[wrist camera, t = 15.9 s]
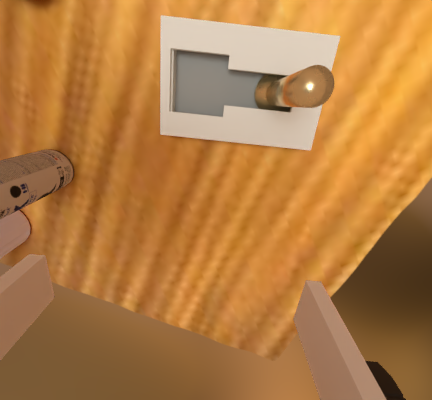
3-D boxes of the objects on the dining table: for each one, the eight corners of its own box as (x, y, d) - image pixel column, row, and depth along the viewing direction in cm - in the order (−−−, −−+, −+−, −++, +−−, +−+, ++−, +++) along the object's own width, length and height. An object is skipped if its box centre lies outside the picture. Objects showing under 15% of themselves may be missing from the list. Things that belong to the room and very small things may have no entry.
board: (167, 25, 31) (160, 15, 28) (327, 43, 32) (340, 36, 28) (165, 131, 37) (160, 134, 33) (302, 146, 37) (310, 150, 34)
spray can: (52, 192, 41) (-85, 263, 23) (26, 157, 39) (-151, 206, 20) (82, 177, 40) (-37, 241, 22) (57, 141, 38) (-101, 177, 19)
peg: (258, 68, 32) (286, 39, 18) (300, 73, 32) (362, 48, 18) (251, 113, 34) (271, 121, 20) (290, 118, 34) (338, 128, 20)
